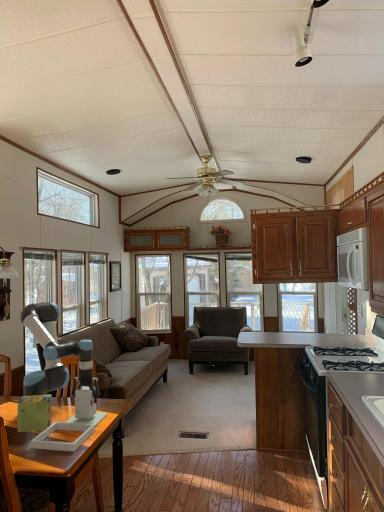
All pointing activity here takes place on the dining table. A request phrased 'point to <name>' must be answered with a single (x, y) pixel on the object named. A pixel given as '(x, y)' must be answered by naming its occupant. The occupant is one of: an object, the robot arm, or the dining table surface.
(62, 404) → the dining table surface
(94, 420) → the pad
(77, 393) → the supplement box
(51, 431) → the bin
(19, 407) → the protein box
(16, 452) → the dining table surface
